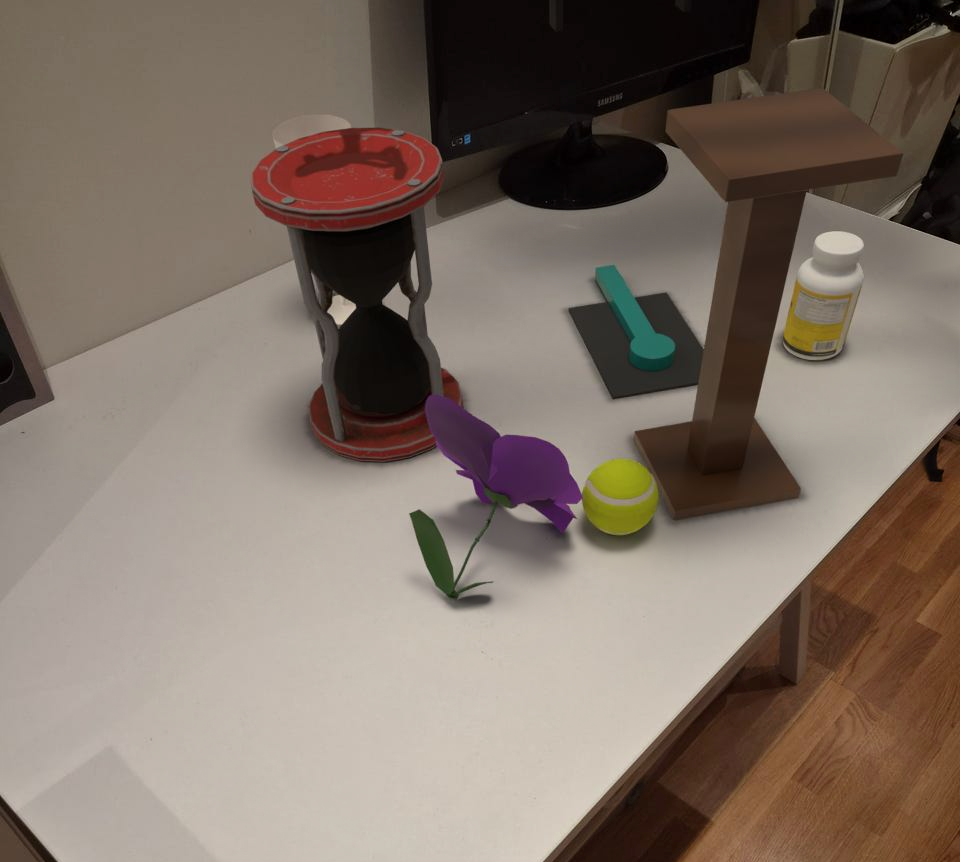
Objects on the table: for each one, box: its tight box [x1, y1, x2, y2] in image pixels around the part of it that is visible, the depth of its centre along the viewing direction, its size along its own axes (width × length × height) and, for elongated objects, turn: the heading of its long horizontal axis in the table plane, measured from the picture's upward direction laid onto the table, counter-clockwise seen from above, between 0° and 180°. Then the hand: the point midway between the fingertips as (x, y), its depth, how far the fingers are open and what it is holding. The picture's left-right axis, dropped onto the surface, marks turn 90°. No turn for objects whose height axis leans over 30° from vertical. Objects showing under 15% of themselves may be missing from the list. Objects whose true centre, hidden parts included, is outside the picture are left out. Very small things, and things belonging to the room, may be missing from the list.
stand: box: [633, 87, 904, 521], centre depth 72 cm, size 12×12×30 cm
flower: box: [408, 394, 583, 599], centre depth 73 cm, size 15×15×14 cm
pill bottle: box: [782, 230, 865, 361], centre depth 90 cm, size 6×6×12 cm
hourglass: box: [250, 127, 464, 463], centre depth 82 cm, size 16×16×25 cm
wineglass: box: [272, 114, 356, 325], centre depth 97 cm, size 8×9×20 cm
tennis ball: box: [581, 458, 660, 536], centre depth 76 cm, size 7×7×7 cm
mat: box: [568, 292, 704, 400], centre depth 97 cm, size 18×12×1 cm, turn 11°
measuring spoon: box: [594, 264, 675, 371], centre depth 99 cm, size 20×5×2 cm, turn 11°
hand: (619, 18), depth 90 cm, fingers open, 13 cm apart
